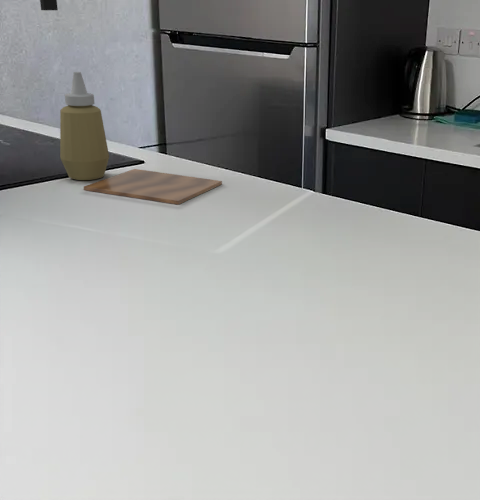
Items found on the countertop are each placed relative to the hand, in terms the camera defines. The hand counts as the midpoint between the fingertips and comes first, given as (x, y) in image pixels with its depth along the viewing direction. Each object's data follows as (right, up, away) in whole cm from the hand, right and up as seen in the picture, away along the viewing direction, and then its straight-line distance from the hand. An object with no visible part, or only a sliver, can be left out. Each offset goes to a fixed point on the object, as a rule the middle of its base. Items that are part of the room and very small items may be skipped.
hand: (18, 8), depth 112 cm
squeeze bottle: (+8, -27, +8) cm, 30 cm away
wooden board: (+21, -29, +4) cm, 36 cm away
